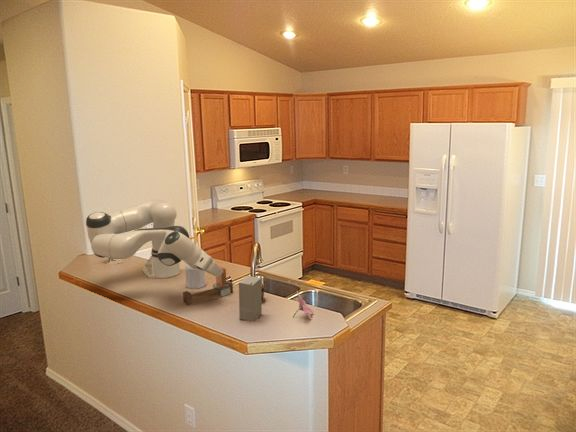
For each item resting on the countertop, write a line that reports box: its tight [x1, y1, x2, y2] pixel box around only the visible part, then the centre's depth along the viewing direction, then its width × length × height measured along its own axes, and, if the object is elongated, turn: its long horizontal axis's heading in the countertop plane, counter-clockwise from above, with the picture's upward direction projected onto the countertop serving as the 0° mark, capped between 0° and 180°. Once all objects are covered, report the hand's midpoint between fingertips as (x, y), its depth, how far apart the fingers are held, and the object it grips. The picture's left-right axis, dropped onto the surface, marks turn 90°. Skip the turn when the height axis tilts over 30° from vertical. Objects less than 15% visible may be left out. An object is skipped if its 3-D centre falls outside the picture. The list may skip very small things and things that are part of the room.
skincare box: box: [238, 275, 263, 322], centre depth 183 cm, size 8×7×16 cm
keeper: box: [212, 265, 231, 298], centre depth 210 cm, size 7×5×12 cm
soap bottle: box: [184, 235, 206, 289], centre depth 221 cm, size 9×9×25 cm
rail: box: [182, 280, 234, 306], centre depth 206 cm, size 4×23×5 cm, turn 129°
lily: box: [292, 290, 315, 320], centre depth 182 cm, size 12×12×10 cm
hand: (217, 275), depth 208 cm, fingers closed, pressing on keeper
